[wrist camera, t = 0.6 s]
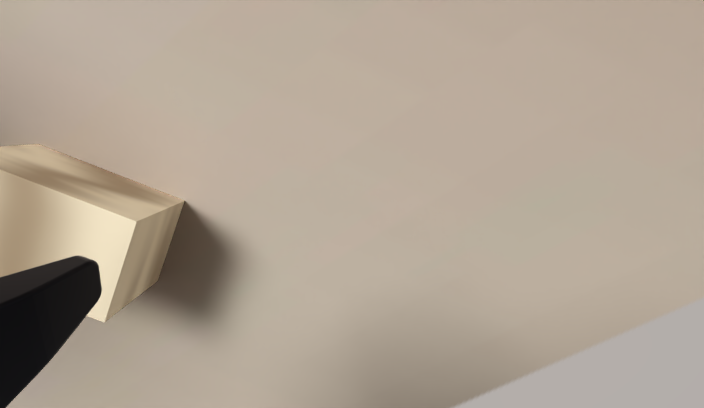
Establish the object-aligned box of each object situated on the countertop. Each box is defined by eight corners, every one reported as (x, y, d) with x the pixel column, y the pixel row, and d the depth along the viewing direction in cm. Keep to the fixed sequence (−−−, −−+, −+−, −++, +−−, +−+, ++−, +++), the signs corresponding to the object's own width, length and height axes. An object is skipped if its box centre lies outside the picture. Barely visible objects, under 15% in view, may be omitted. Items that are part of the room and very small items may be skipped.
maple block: (185, 200, 22) (136, 221, 17) (158, 280, 23) (104, 322, 18) (40, 143, 22) (-53, 149, 17) (17, 227, 22) (-78, 255, 18)
